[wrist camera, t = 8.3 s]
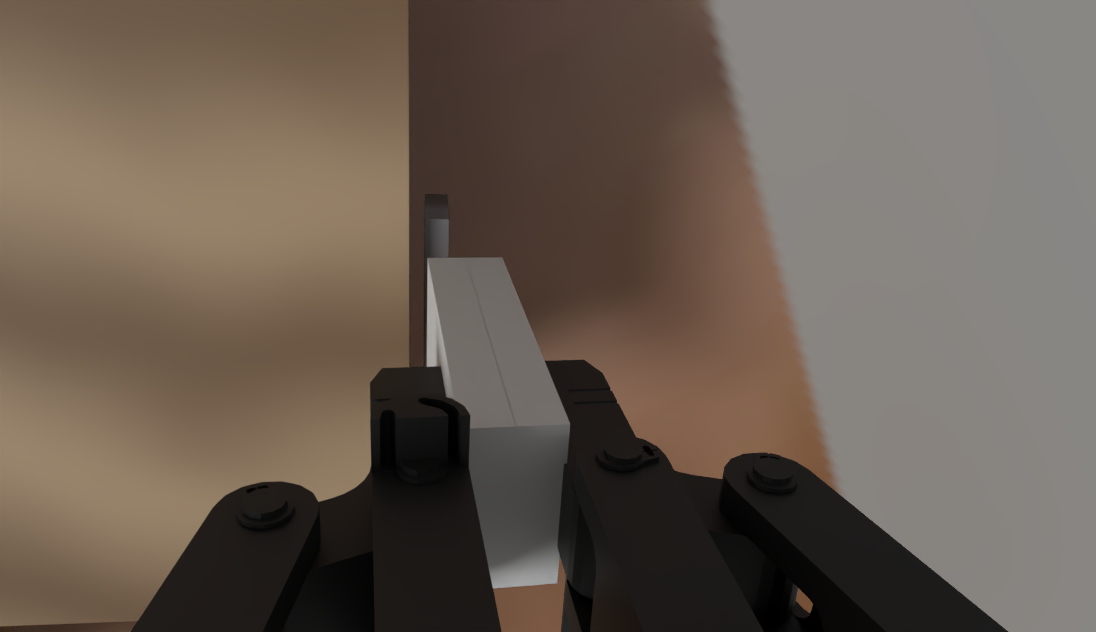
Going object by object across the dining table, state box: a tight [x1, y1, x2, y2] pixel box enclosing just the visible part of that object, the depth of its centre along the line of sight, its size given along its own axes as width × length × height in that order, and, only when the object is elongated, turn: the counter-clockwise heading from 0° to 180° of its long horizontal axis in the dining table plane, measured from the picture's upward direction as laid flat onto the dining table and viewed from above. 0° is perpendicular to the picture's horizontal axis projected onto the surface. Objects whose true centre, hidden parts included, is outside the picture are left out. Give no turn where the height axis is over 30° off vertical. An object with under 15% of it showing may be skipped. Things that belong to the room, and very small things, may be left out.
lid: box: [0, 0, 449, 626], centre depth 19 cm, size 16×13×2 cm
